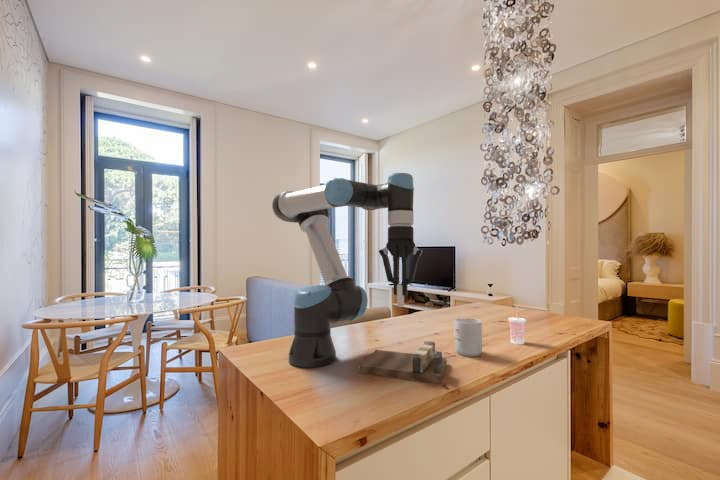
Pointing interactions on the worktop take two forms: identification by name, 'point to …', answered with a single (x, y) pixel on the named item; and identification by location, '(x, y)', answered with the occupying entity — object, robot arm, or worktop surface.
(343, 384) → the worktop surface
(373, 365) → the wooden base board
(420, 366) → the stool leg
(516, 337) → the beverage cup
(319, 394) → the worktop surface
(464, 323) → the mug
